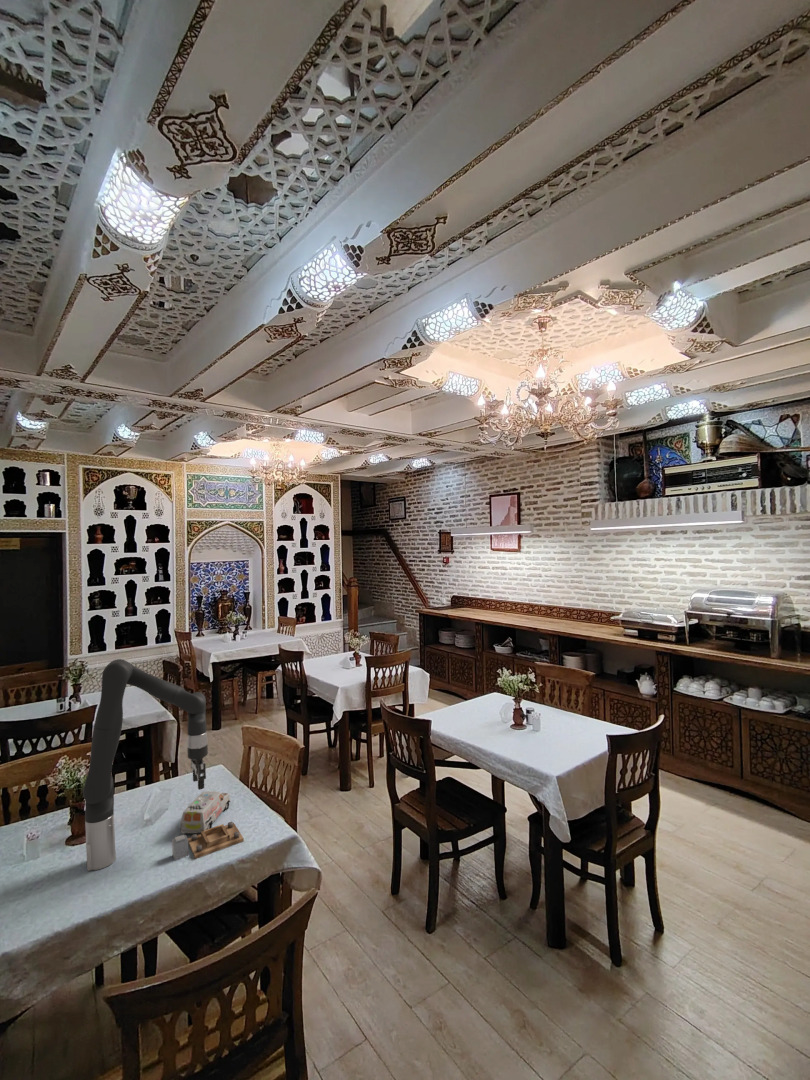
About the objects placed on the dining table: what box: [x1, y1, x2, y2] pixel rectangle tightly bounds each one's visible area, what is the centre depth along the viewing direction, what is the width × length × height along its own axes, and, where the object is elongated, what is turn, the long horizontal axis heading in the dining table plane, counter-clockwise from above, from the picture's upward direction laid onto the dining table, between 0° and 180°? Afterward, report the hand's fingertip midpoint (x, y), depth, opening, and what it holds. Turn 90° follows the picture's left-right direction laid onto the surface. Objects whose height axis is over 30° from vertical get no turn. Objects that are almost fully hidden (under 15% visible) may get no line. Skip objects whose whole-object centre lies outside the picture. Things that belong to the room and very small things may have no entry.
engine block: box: [171, 834, 190, 861], centre depth 193 cm, size 5×4×7 cm
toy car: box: [180, 790, 231, 834], centre depth 217 cm, size 11×25×10 cm, turn 174°
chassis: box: [187, 821, 245, 860], centre depth 201 cm, size 18×14×3 cm
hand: (198, 784), depth 204 cm, fingers open, 8 cm apart
